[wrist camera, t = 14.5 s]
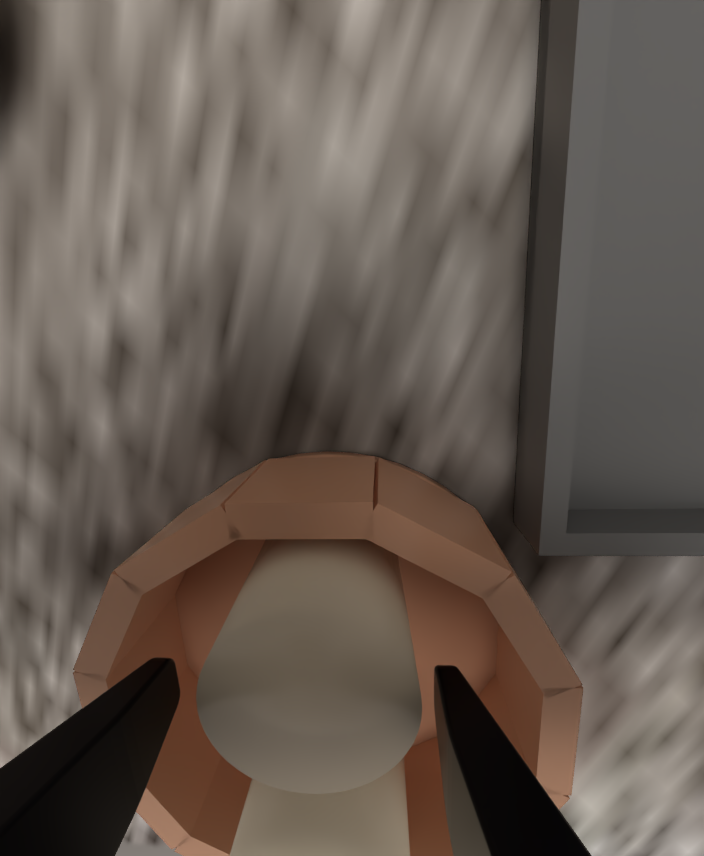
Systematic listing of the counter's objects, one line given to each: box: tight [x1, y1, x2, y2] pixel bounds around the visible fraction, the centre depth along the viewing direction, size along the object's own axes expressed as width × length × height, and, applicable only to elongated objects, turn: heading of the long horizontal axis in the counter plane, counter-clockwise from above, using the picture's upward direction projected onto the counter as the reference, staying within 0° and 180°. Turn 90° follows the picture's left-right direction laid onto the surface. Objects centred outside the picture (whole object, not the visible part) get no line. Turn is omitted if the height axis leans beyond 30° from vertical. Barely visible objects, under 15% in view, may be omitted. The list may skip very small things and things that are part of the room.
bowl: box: [73, 451, 583, 856], centre depth 10 cm, size 12×12×4 cm
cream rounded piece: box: [230, 757, 410, 856], centre depth 10 cm, size 4×4×4 cm
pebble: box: [196, 539, 422, 794], centre depth 9 cm, size 4×4×4 cm
